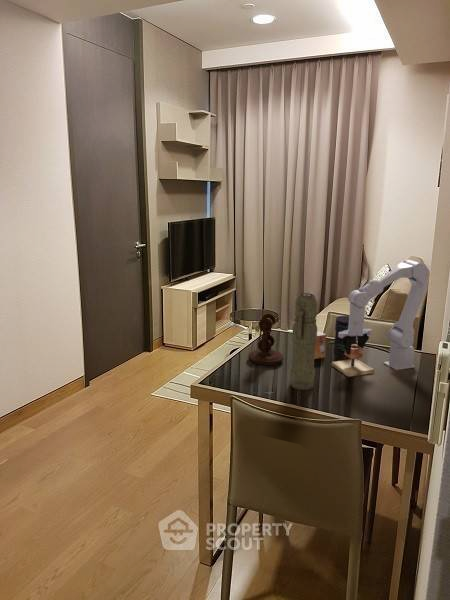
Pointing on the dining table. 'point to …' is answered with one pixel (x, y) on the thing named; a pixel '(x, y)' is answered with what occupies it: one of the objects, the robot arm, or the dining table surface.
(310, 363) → the grey-green tall column
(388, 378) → the dining table surface
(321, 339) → the small box
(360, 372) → the lacing board
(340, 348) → the storage jar
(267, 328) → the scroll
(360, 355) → the bead
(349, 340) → the robot arm
